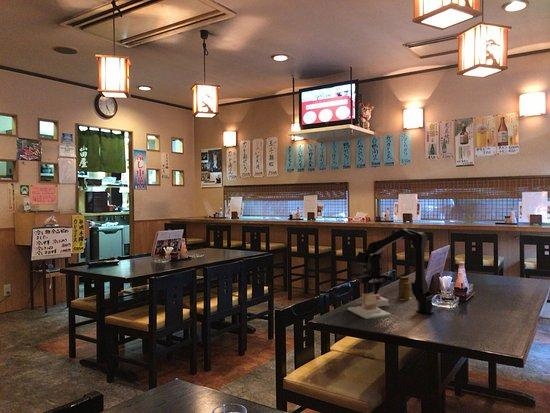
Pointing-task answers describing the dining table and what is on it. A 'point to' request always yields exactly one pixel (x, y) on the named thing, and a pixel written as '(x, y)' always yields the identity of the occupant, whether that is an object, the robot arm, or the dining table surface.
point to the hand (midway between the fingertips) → (375, 294)
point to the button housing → (382, 302)
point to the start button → (377, 296)
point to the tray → (369, 312)
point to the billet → (368, 301)
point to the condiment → (404, 288)
